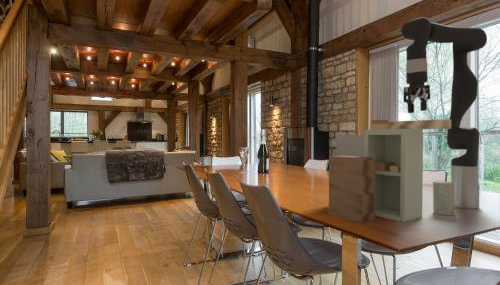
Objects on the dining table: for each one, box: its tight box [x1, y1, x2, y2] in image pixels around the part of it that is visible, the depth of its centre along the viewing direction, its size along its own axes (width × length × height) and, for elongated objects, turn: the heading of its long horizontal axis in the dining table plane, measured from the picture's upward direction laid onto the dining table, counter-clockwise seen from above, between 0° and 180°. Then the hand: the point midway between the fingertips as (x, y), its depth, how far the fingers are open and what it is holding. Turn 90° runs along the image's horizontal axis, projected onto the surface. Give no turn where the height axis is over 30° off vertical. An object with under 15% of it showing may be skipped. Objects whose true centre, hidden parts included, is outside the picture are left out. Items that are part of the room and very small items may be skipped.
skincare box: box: [432, 180, 456, 216], centre depth 124 cm, size 6×4×12 cm
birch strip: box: [388, 118, 451, 130], centre depth 118 cm, size 26×4×3 cm, turn 35°
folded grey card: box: [336, 134, 365, 157], centre depth 138 cm, size 14×6×30 cm, turn 84°
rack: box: [364, 119, 424, 223], centre depth 121 cm, size 12×16×36 cm
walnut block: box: [328, 155, 376, 224], centre depth 118 cm, size 8×14×22 cm, turn 35°
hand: (417, 111), depth 132 cm, fingers open, 8 cm apart
